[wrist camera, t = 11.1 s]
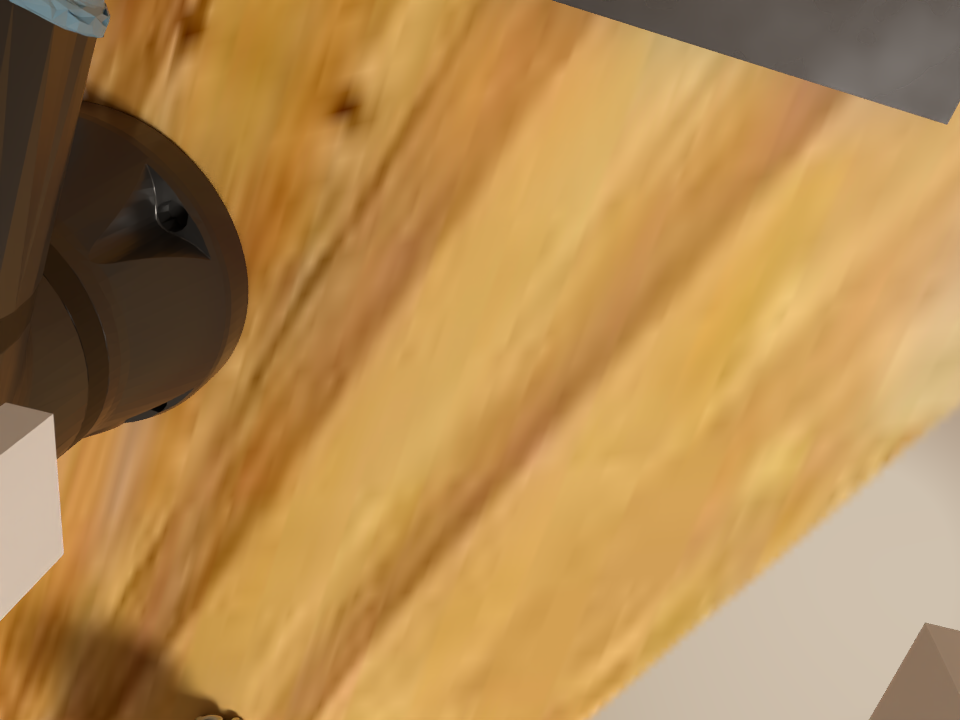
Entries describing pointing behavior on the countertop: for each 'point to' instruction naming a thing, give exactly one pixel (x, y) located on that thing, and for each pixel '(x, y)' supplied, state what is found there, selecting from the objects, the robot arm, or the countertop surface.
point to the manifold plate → (822, 42)
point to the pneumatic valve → (213, 718)
